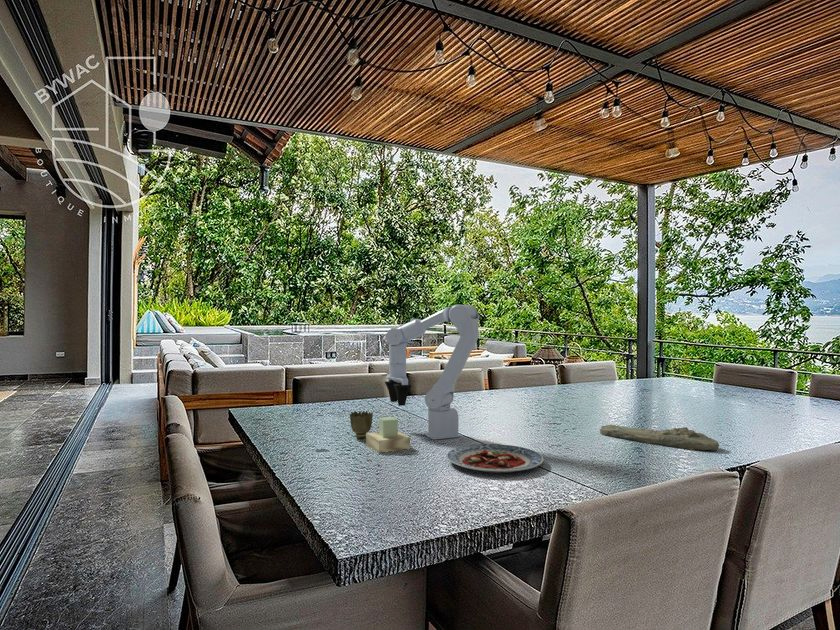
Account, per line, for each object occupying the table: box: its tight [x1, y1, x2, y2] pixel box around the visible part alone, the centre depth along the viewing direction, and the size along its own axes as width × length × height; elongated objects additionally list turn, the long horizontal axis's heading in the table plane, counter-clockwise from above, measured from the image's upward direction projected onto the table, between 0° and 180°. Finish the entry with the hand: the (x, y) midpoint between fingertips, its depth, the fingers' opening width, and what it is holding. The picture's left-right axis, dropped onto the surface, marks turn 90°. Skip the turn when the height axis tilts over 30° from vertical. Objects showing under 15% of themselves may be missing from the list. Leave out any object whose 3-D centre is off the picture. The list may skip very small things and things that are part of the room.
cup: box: [349, 410, 374, 440], centre depth 170 cm, size 8×7×8 cm
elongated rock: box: [599, 424, 720, 451], centre depth 166 cm, size 35×5×10 cm
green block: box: [378, 416, 399, 438], centre depth 158 cm, size 4×4×5 cm
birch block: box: [365, 431, 411, 454], centre depth 158 cm, size 10×10×4 cm
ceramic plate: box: [446, 443, 545, 474], centre depth 142 cm, size 26×26×3 cm
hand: (397, 403), depth 179 cm, fingers open, 7 cm apart
